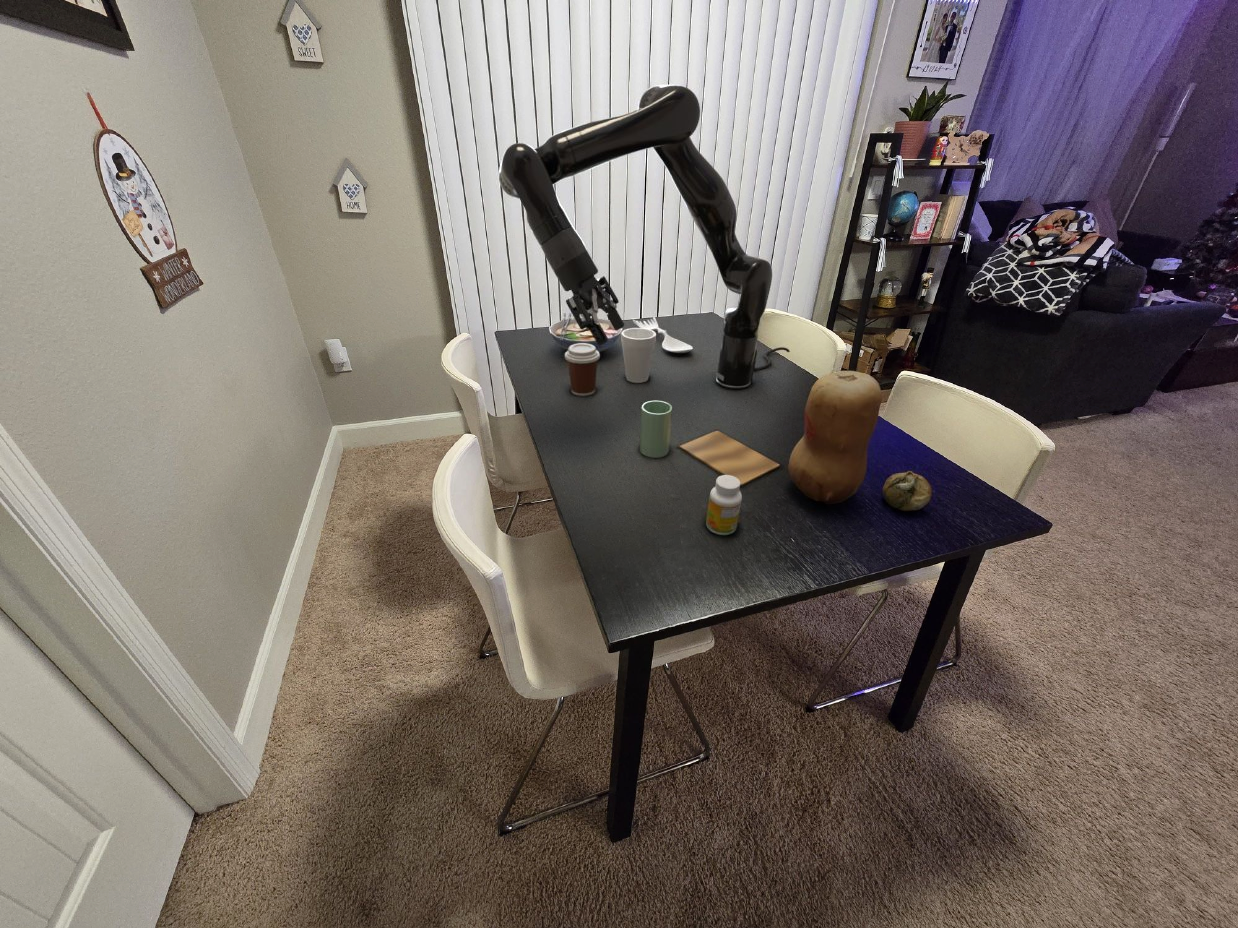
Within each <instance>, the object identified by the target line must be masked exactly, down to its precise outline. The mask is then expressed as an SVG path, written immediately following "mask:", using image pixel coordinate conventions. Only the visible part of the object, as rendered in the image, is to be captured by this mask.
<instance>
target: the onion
mask: <svg viewBox="0 0 1238 928" xmlns="http://www.w3.org/2000/svg"><path fill="white" fill-rule="evenodd" d="M932 492H933V491H932V486H931V484H930V483H929V481H928V480H927V479H926V478H925V477H924V476H922V475H920V474H917V473H915V472H913V471H912V470H908V471H907V472H898V473H894V474H891V475H890V476H889V477H888V478H887V479H886V480H885V482H884V485H883V486H882V496H883V498H884V500H885V501H886V503H887V504H888V505H890V506H891V507H892V508H894V509H897V510H900V511H903V512H910V511H918V510H921V509H922V508H924V507H925V506H926V505H928V503H930V501H931V498H932V495H933V494H932Z"/></svg>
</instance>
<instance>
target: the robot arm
mask: <svg viewBox="0 0 1238 928" xmlns="http://www.w3.org/2000/svg"><path fill="white" fill-rule="evenodd" d="M639 99H640V100H639V101H638V106H637V109H636V110H633V111H631V112H628V113H624V114H620V115H617V116H613V117H608V118H603V119H598V120H594V121H590V122H586V123H582V124H579V125H576V126H575V127H574V126H573V127H571V128H568V129H565V130H563V131H561V132H558V133H555V134H553V135H552V136H550V137H548V138H547V139H546V140H545V142H544V143H543V144H542V145H540V146H537V147H536V148H533V146H531V145H529V144H527V143H523V142H516V143H513V144H511V145H509V147H507V149H506V150H505V151H504V153H503V154H502V155H503V156H502V159H501V163H500V166H499V170H498V181H499V184H500V186H501V187H500V188H501V189H502V190H503V191H504V192H505V194H506V195H508V196H509V197H512V198H515V199H519V201H520V203H521V204H522V207H523V208H524V210H525V215H526V222H527V224H528V227H529V228H530V230H531V231H530V232H532V234H533V236H534V238H535V240H536V241H537V243H538V245H539V246H540V249H541V251H542V252H543V255H544V257H545V259H546V261H547V263H548V265H549V266H550V268H551V269H552V272H553V273H554V275H555V276H556V278H557V280H558V282H559V284H560V285H561V287H562V289H563V290H564V291H565V292H569V291H571V293H572V296H570V297H569V298H567V299H566V300H565V304H566V305H567V307H568V310H569V311H570V312H571V315H572V316H573V318H575V320H576V322H577V324H578V326H579V327H580V329H584V328H586V329H589V330H590V332H591V333H592V335H593V337H594V339H595V340H596V342H597V343H598V345H602V344H604V343H606V342H607V341H608V337H607V336H606V334H605V332H604V330H603V329H602V327H601V325H600V323H599V324H598V318H599V317H598V313H599V310H602V312H604V313H605V314H606V317H607V318H608V320H610V322H611V324H612V326H613V327H614V329H615V330H619V329H621V328H622V329H623V327H625V323H624V321H623V319H622V317H621V315H620V314H619V311H618V310H617V308H618V305H617V304H619V303H620V302H619V298H618V297H617V295H616V293H615V292H614V290H613V288H612V286H611V285H610V283H609V282H608V280H607V278H606V276H604V275H603V276H601V277H599V278H596V277H595V275H597V274H598V273H599V269H598V267H597V265H596V263H595V261H594V259H593V258H592V256H591V254H590V252H589V250H588V248H587V247H586V244H585V243H584V241H583V239H582V237H581V236H580V235H579V232H577V230H576V229H575V227H574V226H573V224H572V222H571V221H570V219H569V217H568V215H567V213H566V211H565V209H564V208H563V206H562V205H561V203H560V201H559V198H558V195H557V192H556V189H555V186H554V185H555V184H558V183H559V182H561V181H562V180H566V179H569V178H571V177H572V178H573V177H575V176H576V175H580V174H582V173H585V172H587V171H590V170H592V169H594V168H596V167H599V166H601V165H605V164H606V163H609V162H611V161H614V160H616V159H619V158H622V157H624V156H628V155H631V154H634V153H637V152H641V151H644V150H649V149H653V150H654V152H655V153H656V155H657V156H658V157H659V159H660V160H661V162H662V163H663V165H664V166H665V168H666V170H667V172H668V174H669V176H670V177H671V180H672V181H673V183H674V185H675V187H676V189H677V191H678V193H679V195H680V197H681V199H682V200H683V202H684V204H685V206H686V208H687V210H688V213H689V214H690V216H691V218H692V220H693V222H694V224H695V225H696V227H697V228H698V231H699V232H700V234H701V236H702V238H703V239H704V241H705V243H706V245H707V247H708V249H709V250H710V253H711V254H712V257H713V259H714V261H715V263H716V267H717V269H718V272H719V275H720V277H721V279H722V282H723V284H724V285H725V287H726V288H727V289H728V290H729V291H731V292H732V293H734V294H735V293H736V294H737V295H740V296H739V301H738V304H737V305H736V306H731V307H729V308H727V309H726V310H725V312H724V313H725V314H724V318H723V319H724V320H723V328H722V334H721V342H720V351H719V358H718V365H717V371H716V372H715V376H716V378H715V382H716V384H717V385H718V386H720V387H723V388H726V389H729V390H743V389H747V388H748V387H750V385H751V383H753V378H754V373H755V371H761V370H764V369H766V368H768V367H769V366H771V364H772V361H771V359H770V357H768V355H770V354H772V353H775V352H777V351H785V352H786V353H790V352H791V351H790V349H789V348H787V347H784V346H782V347H776V348H772V349H770V350H768V351H766V352H765V353H764V359H765V360H766V361H767V362H768V363H767V364H765V365H763V366H759V367H756V363H757V356H758V349H757V343H758V339H759V331H760V325H761V320H762V318H763V315H764V313H765V311H766V309H767V304H768V299H769V294H770V291H771V286H772V280H773V269H772V265H771V264H770V262H769V261H768V260H766V259H763V258H760V257H756V256H752V255H750V254H747V253H746V252H745V250H744V249H743V247H742V246H741V244H740V242H739V240H738V238H737V235H736V227H737V215H738V214H737V213H738V212H737V207H736V204H735V200H734V198H733V196H732V195H731V192H730V189H729V187H728V186H727V184H726V182H725V180H724V178H723V177H722V176H721V175H720V174H719V172H718V171H717V170H716V169H715V167H714V166H713V165H712V164H711V163H710V162H709V161H708V160H707V159H706V158H705V157H704V156H703V154H702V153H701V152H700V151H699V150H698V148H697V147H696V146H695V143H694V141H693V140H692V138H691V136H693V135H694V133H695V132H696V130H697V127H698V125H699V122H700V120H701V119H700V117H701V106H700V102H699V99H698V97H697V95H696V94H695V92H694V91H692V90H691V89H690V88H689V87H686V86H683V85H680V84H660V85H654V86H651V87H649V88H648V89H647V90H645V91H644V92H643V94H642V95H641V97H640V98H639ZM581 318H583V319H584V321H582V320H581ZM591 318H592V319H591Z"/></svg>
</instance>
